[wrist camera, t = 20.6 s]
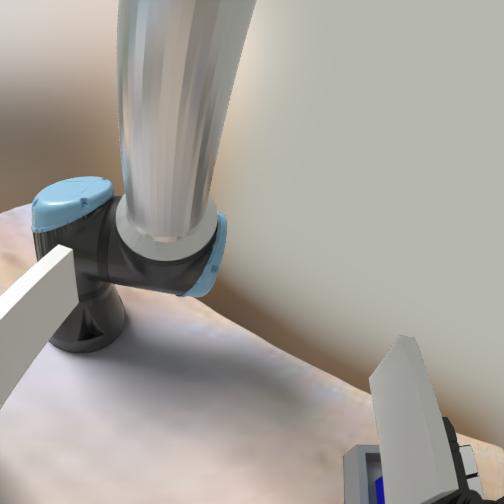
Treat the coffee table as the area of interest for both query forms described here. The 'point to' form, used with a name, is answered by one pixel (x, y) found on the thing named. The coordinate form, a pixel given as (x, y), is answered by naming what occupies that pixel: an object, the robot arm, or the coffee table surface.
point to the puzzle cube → (470, 472)
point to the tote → (361, 474)
